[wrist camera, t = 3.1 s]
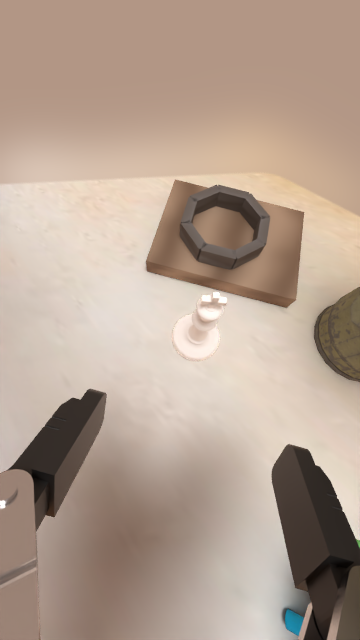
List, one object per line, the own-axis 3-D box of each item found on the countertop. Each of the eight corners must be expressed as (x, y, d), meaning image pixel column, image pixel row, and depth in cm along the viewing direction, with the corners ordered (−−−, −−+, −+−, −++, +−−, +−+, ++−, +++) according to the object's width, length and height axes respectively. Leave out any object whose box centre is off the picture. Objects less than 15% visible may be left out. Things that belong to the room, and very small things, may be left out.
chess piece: (173, 313, 25) (180, 258, 16) (219, 316, 26) (252, 265, 16) (170, 359, 24) (175, 328, 14) (219, 362, 24) (255, 335, 15)
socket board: (147, 271, 27) (144, 249, 23) (174, 193, 31) (176, 163, 27) (286, 307, 27) (306, 291, 23) (295, 224, 31) (313, 198, 27)
